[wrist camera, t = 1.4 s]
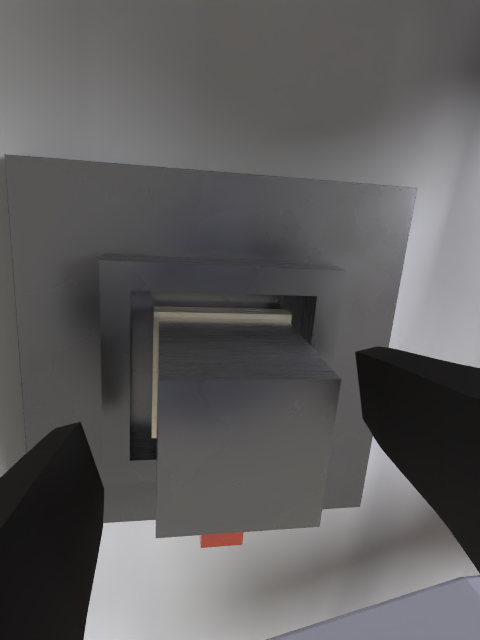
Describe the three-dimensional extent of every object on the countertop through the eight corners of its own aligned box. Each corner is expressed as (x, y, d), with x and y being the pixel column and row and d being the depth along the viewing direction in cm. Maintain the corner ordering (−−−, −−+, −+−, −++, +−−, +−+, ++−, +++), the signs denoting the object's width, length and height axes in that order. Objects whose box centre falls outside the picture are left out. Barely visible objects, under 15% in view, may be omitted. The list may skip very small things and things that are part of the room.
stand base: (400, 187, 15) (487, 190, 11) (349, 490, 18) (402, 574, 14) (15, 156, 13) (-49, 145, 9) (39, 507, 16) (1, 613, 12)
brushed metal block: (284, 306, 14) (349, 372, 9) (271, 420, 16) (324, 531, 11) (154, 303, 14) (151, 373, 9) (151, 423, 15) (148, 543, 10)
